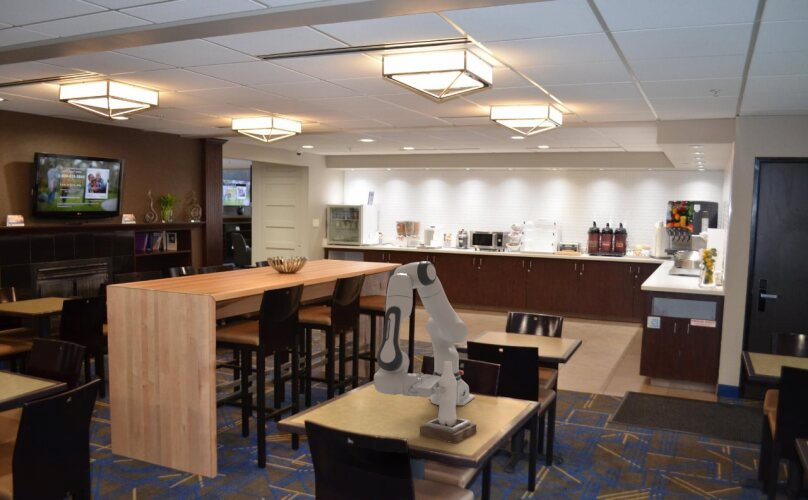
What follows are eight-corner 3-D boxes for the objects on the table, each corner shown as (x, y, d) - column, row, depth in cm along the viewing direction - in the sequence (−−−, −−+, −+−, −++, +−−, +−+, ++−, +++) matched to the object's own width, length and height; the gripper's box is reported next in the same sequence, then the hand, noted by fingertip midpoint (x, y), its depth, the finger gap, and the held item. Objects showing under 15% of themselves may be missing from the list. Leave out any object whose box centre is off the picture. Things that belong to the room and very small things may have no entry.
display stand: (442, 424, 264) (442, 413, 264) (476, 431, 255) (476, 420, 255) (419, 434, 251) (419, 423, 251) (454, 443, 242) (454, 431, 242)
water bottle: (437, 422, 256) (437, 360, 255) (454, 422, 257) (455, 360, 256) (439, 428, 249) (440, 364, 248) (457, 428, 250) (458, 364, 249)
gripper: (406, 383, 246) (441, 386, 242) (420, 371, 266) (453, 373, 262) (406, 399, 246) (441, 402, 242) (420, 386, 266) (453, 389, 262)
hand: (447, 387), depth 252 cm, fingers open, 8 cm apart
